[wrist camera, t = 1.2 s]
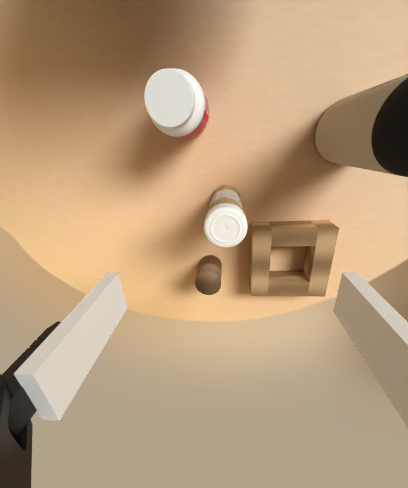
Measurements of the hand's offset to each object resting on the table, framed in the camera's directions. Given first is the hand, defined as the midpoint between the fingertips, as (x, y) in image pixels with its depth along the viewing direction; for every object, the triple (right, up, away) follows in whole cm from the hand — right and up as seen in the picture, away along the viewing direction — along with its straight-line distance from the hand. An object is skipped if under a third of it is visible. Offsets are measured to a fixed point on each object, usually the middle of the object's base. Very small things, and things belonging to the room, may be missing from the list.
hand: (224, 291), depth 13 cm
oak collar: (+13, +1, +24) cm, 28 cm away
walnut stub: (0, -1, +27) cm, 27 cm away
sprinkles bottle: (+2, +10, +22) cm, 24 cm away
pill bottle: (-4, +21, +17) cm, 27 cm away
